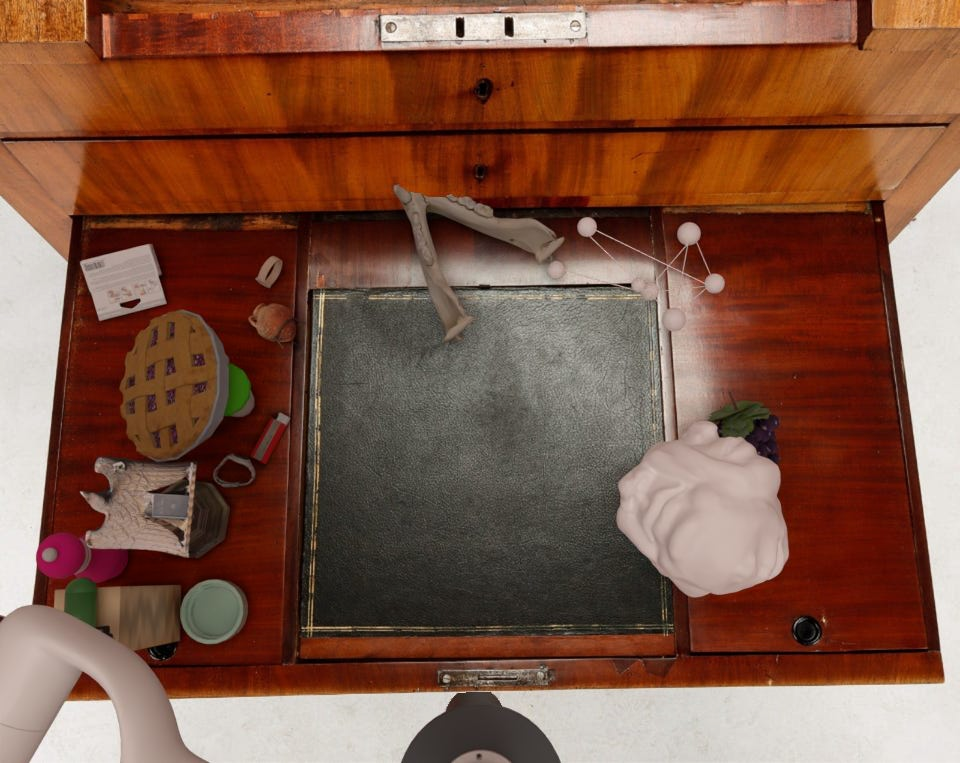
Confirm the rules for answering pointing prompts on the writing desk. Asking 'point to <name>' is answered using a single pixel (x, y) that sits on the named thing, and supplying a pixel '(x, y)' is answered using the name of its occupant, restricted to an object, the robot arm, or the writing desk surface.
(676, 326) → the molecule model
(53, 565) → the pepper mill
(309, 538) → the writing desk surface
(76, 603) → the cucumber
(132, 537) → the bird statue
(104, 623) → the oak stand
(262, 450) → the lighter
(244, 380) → the cup
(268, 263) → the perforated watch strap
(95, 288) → the ink cartridge box
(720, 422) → the fruit
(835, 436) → the writing desk surface
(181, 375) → the pie
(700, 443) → the head sculpture
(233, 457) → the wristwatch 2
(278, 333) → the pot
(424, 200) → the jawbone
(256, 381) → the writing desk surface
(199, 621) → the pale green round dish
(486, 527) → the writing desk surface
